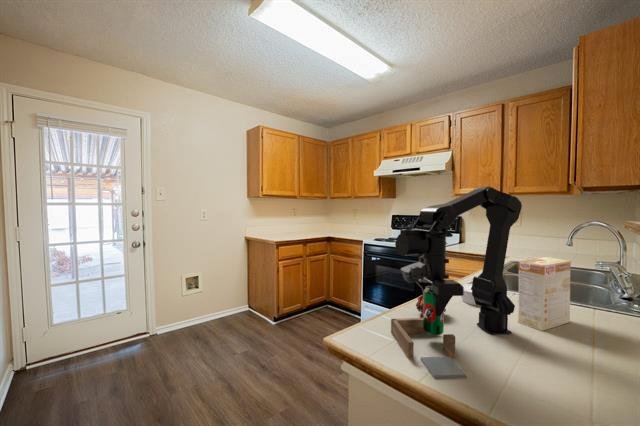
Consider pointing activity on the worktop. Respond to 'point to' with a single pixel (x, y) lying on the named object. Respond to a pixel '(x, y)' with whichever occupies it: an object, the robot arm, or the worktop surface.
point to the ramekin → (468, 295)
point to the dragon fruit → (421, 305)
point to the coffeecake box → (544, 292)
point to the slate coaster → (442, 367)
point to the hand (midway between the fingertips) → (433, 311)
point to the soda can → (431, 315)
